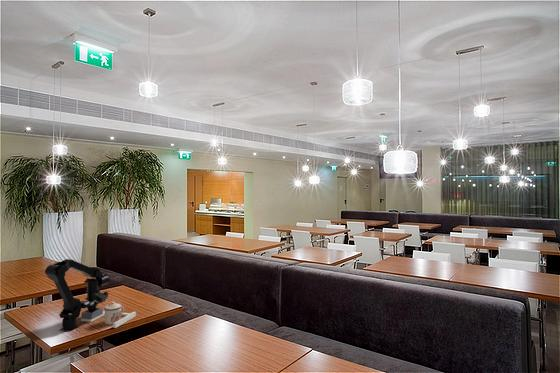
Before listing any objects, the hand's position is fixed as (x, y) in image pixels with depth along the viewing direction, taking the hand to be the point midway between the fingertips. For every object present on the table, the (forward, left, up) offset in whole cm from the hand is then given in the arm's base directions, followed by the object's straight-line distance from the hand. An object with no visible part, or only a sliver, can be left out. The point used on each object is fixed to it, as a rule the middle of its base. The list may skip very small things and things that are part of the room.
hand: (92, 314), depth 198 cm
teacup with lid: (0, -16, -2) cm, 16 cm away
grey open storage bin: (0, -10, -2) cm, 10 cm away
